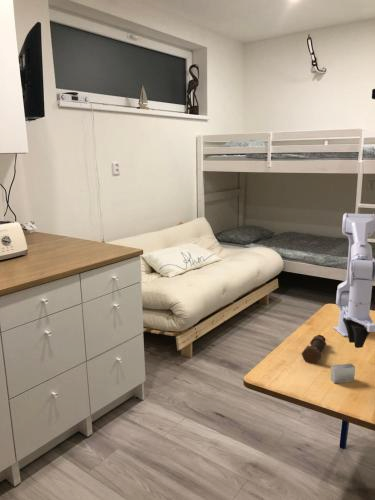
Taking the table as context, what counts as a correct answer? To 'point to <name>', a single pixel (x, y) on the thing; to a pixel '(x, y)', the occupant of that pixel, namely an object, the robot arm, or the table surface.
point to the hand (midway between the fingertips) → (355, 344)
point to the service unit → (342, 373)
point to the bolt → (314, 349)
